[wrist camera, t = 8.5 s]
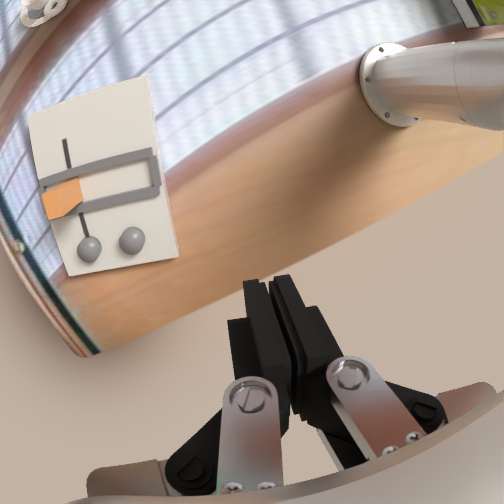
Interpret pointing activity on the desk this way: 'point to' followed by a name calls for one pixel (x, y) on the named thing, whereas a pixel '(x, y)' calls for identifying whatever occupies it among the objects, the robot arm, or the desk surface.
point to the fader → (62, 198)
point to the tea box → (481, 12)
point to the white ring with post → (37, 2)
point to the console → (106, 177)
